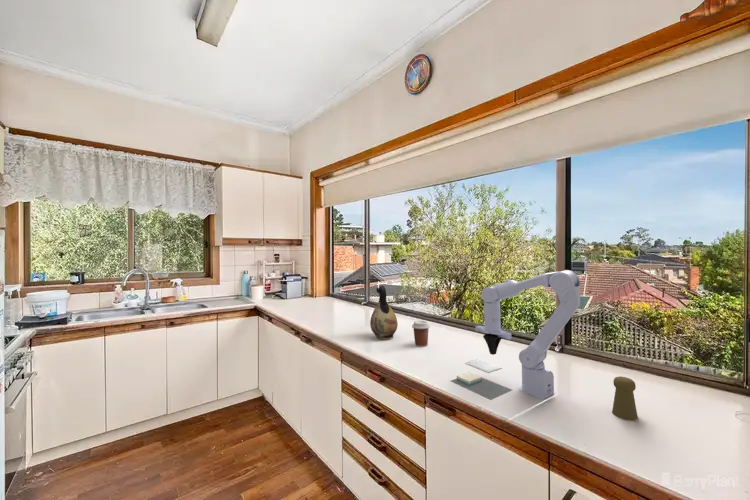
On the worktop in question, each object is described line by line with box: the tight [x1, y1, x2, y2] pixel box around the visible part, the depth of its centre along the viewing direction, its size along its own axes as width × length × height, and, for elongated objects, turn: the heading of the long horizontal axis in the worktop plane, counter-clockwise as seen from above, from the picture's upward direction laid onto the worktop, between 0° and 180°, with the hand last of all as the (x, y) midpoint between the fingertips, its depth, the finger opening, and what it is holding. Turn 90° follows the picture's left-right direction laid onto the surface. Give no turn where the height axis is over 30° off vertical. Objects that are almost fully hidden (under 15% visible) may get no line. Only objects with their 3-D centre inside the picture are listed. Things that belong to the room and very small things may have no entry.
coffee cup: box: [411, 320, 431, 348], centre depth 164 cm, size 9×9×12 cm
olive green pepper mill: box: [611, 376, 639, 422], centre depth 94 cm, size 6×6×11 cm
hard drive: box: [464, 358, 503, 374], centre depth 133 cm, size 2×8×12 cm
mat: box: [450, 377, 513, 401], centre depth 115 cm, size 18×12×1 cm, turn 33°
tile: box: [456, 371, 483, 386], centre depth 119 cm, size 2×7×6 cm
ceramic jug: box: [369, 285, 398, 341], centre depth 178 cm, size 17×15×30 cm
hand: (493, 353), depth 120 cm, fingers closed
